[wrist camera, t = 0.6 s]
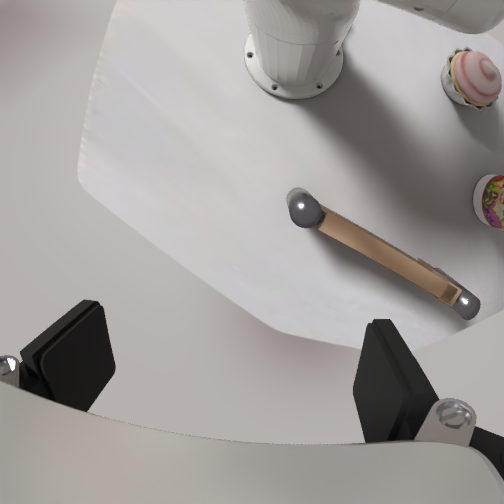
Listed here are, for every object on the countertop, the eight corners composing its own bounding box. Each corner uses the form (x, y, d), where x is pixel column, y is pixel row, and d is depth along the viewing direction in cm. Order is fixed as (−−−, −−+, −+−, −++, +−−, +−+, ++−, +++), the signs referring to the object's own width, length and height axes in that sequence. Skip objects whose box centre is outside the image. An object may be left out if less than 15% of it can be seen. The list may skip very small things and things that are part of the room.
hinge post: (293, 183, 39) (299, 190, 29) (314, 194, 39) (327, 205, 29) (282, 204, 40) (284, 218, 30) (303, 215, 40) (312, 233, 30)
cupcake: (419, 68, 33) (452, 48, 24) (458, 47, 31) (493, 28, 22) (454, 125, 35) (494, 119, 25) (490, 100, 33) (530, 92, 23)
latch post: (433, 264, 40) (470, 293, 30) (446, 273, 41) (484, 302, 30) (422, 282, 41) (457, 314, 31) (436, 290, 41) (471, 323, 31)
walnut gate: (316, 198, 39) (327, 209, 30) (430, 265, 40) (462, 290, 31) (307, 215, 39) (315, 230, 30) (421, 279, 40) (451, 307, 31)
